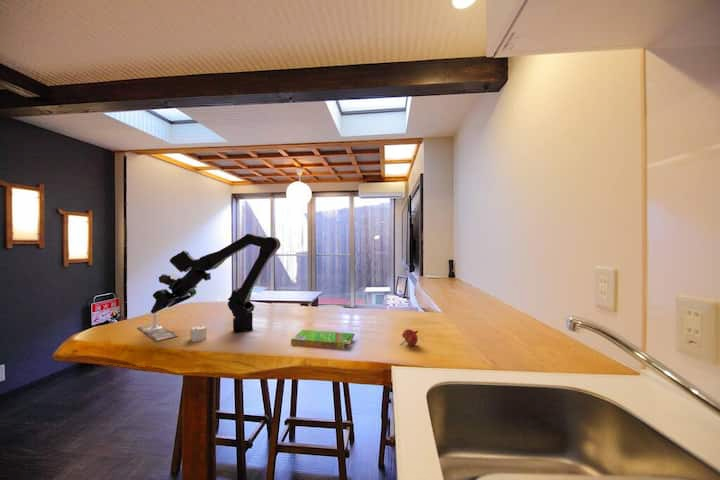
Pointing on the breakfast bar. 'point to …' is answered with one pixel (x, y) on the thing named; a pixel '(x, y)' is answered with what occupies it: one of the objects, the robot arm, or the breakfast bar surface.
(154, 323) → the chess piece
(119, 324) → the breakfast bar surface
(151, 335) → the track board
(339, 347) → the game box
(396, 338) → the breakfast bar surface
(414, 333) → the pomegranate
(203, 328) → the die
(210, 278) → the robot arm
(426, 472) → the breakfast bar surface
